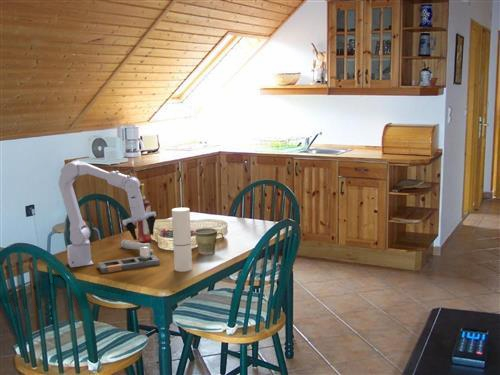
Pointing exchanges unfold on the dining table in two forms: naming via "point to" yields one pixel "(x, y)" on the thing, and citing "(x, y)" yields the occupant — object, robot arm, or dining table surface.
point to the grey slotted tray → (127, 264)
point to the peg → (144, 253)
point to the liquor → (142, 225)
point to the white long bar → (134, 245)
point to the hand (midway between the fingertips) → (143, 237)
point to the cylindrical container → (182, 239)
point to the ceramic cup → (206, 240)
